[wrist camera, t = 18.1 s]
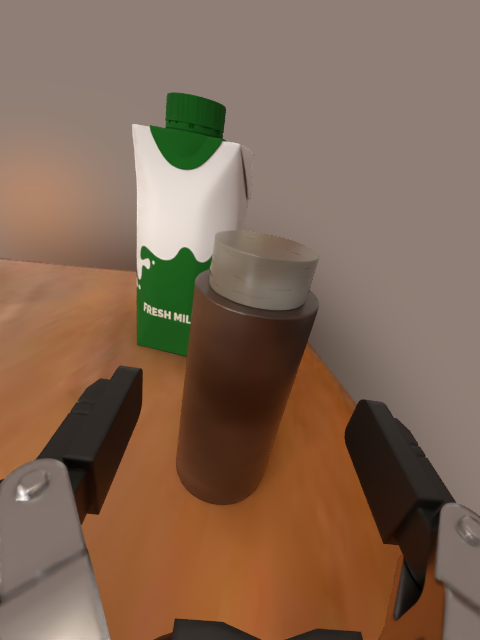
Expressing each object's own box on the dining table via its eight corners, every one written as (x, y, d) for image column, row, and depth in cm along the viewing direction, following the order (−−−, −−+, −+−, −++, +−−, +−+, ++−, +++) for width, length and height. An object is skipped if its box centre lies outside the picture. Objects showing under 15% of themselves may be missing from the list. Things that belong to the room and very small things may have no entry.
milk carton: (123, 348, 27) (117, 79, 18) (161, 308, 35) (170, 110, 26) (213, 369, 26) (256, 105, 17) (231, 324, 34) (266, 128, 25)
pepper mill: (158, 483, 16) (174, 239, 10) (197, 415, 21) (224, 222, 15) (252, 521, 16) (336, 279, 9) (269, 440, 20) (333, 246, 14)
